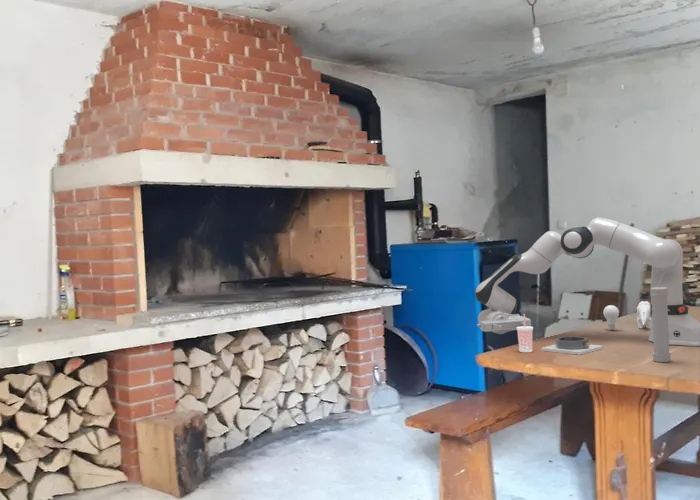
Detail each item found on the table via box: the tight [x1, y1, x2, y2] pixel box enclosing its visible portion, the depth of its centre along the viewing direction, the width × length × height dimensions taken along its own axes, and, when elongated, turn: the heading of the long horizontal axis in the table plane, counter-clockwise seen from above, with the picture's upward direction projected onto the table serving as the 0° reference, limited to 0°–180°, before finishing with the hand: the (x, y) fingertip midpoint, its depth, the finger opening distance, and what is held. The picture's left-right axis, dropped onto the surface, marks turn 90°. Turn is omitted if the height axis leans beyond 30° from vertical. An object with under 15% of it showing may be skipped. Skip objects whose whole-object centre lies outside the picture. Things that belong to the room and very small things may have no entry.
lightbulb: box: [602, 304, 620, 332], centre depth 292 cm, size 6×6×11 cm
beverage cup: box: [516, 313, 534, 353], centre depth 255 cm, size 6×6×14 cm
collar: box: [554, 335, 591, 350], centre depth 253 cm, size 13×11×3 cm
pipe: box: [649, 270, 672, 363], centre depth 225 cm, size 6×6×30 cm
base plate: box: [540, 343, 604, 356], centre depth 253 cm, size 16×16×1 cm
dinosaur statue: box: [636, 300, 651, 330], centre depth 294 cm, size 7×24×11 cm, turn 154°
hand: (512, 327), depth 266 cm, fingers open, 8 cm apart
